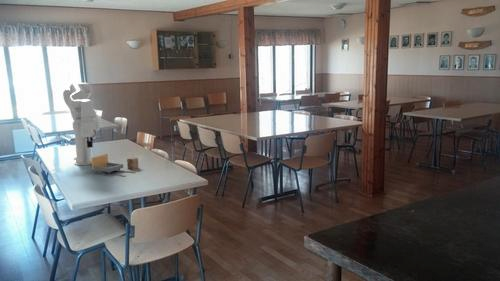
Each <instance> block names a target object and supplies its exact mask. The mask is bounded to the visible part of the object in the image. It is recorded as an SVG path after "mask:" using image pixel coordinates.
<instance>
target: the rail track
mask: <svg viewBox="0 0 500 281" xmlns="http://www.w3.org/2000/svg"><path fill="white" fill-rule="evenodd" d="M113 172H120V173H121V172H122V173H129V174H136V173H137V172H136V171H133V170H132V171H131V170H124V169H120V170H114V171H113ZM120 173H119V174H118V173H112V172H110V173H108V172H104V171H99V172H97V171H96V174H102V175H109V176H115V177H127V175H126V174H120Z"/></svg>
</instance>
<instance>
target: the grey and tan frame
mask: <svg viewBox="0 0 500 281" xmlns="http://www.w3.org/2000/svg"><path fill="white" fill-rule="evenodd" d="M91 160H92V164H91V170H92V171H96V172H105V173H112V172H115V171H114V170H122V169H124V163H117V162H111V161H110V162H109V158H108V153H105V154H101V155H98V156H97V155H96V156H94V157H91Z"/></svg>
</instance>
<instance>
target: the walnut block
mask: <svg viewBox="0 0 500 281" xmlns="http://www.w3.org/2000/svg"><path fill="white" fill-rule="evenodd" d="M126 162H127V169H128V170H132V171H133V170H136V169H139V157H135V156H134V157H133V156H132V157H128V158H126Z"/></svg>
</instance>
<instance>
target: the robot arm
mask: <svg viewBox="0 0 500 281" xmlns="http://www.w3.org/2000/svg"><path fill="white" fill-rule="evenodd" d="M92 93H93V87H92V85H91V84H90V83H89V82H73V83H72V84H70V86H69V88H66V89H65V90H63V93H62V95H63V96H62V97H63V101H64V104H66V106H67V107H68V109H69V111H70V115H71V118H72V120H73V122H72V129H73V133H74V139H75V140H74V142H75V152H76V154H75V155H76V156H75V157H74V158H73V160H74V161H75V162H74V165H76V166H86V165H87V166H88V165H89V166H90V165H92V151H91V149H92V148H93V147H94V146H93V141H94V139H95V140H96V139H97V135H98V133H97V132H98V131H99V130H100V128H101V125H100V121H99V118H98V116H97V114H96V111H95V109H94V102H93V100H92V99H89V98H90V97H91V95H92Z"/></svg>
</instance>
